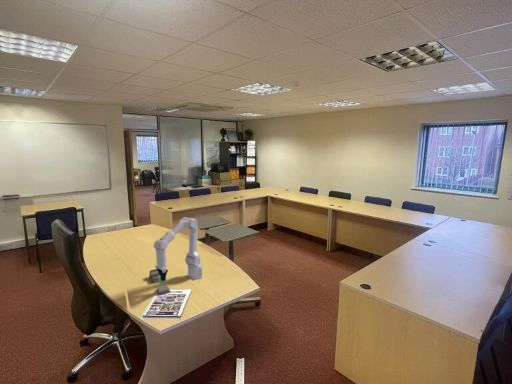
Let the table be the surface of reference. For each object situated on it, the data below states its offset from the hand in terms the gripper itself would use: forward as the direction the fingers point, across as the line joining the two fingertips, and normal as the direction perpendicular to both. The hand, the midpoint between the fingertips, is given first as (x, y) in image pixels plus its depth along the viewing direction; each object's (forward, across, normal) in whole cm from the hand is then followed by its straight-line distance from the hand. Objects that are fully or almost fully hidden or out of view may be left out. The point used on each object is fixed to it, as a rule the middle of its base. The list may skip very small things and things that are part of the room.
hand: (162, 279), depth 171 cm
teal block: (+2, 0, 0) cm, 2 cm away
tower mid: (+8, 0, 0) cm, 8 cm away
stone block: (+10, -22, -1) cm, 24 cm away
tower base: (+10, 0, 0) cm, 10 cm away
